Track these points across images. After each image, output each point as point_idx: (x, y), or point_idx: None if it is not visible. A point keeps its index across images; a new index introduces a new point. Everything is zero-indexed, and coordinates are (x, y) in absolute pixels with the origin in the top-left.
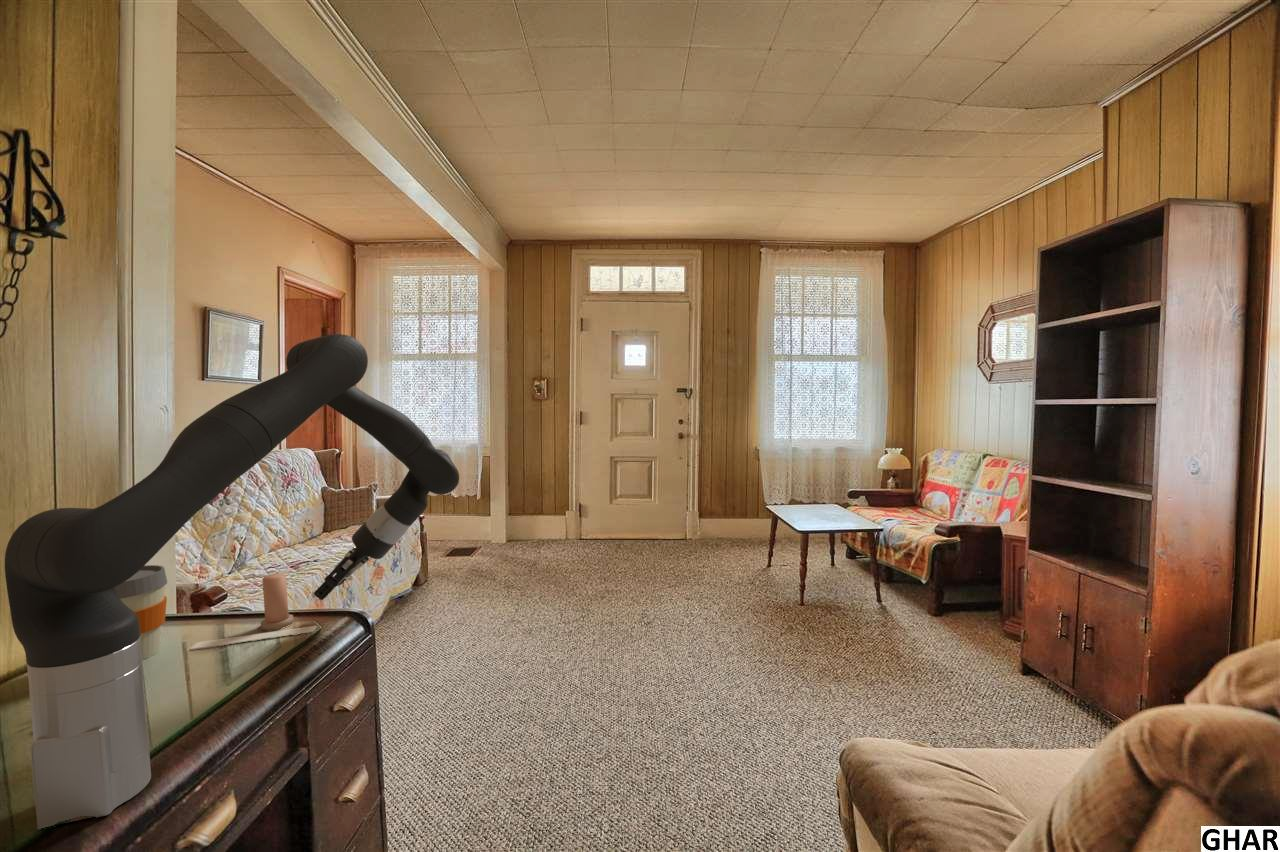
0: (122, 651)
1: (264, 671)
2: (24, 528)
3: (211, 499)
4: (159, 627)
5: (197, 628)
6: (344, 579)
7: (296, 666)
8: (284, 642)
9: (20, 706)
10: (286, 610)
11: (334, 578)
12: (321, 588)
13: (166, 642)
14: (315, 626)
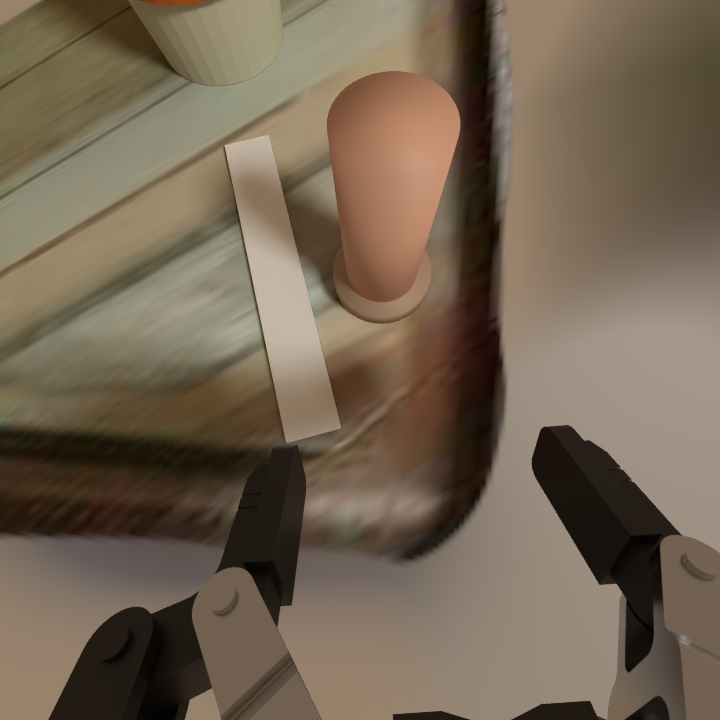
0: None
1: (5, 440)
2: None
3: None
4: (206, 7)
5: None
6: (560, 513)
7: (5, 531)
8: (223, 382)
9: (22, 22)
10: (380, 288)
11: (167, 693)
12: (238, 514)
13: (299, 63)
14: (332, 428)
